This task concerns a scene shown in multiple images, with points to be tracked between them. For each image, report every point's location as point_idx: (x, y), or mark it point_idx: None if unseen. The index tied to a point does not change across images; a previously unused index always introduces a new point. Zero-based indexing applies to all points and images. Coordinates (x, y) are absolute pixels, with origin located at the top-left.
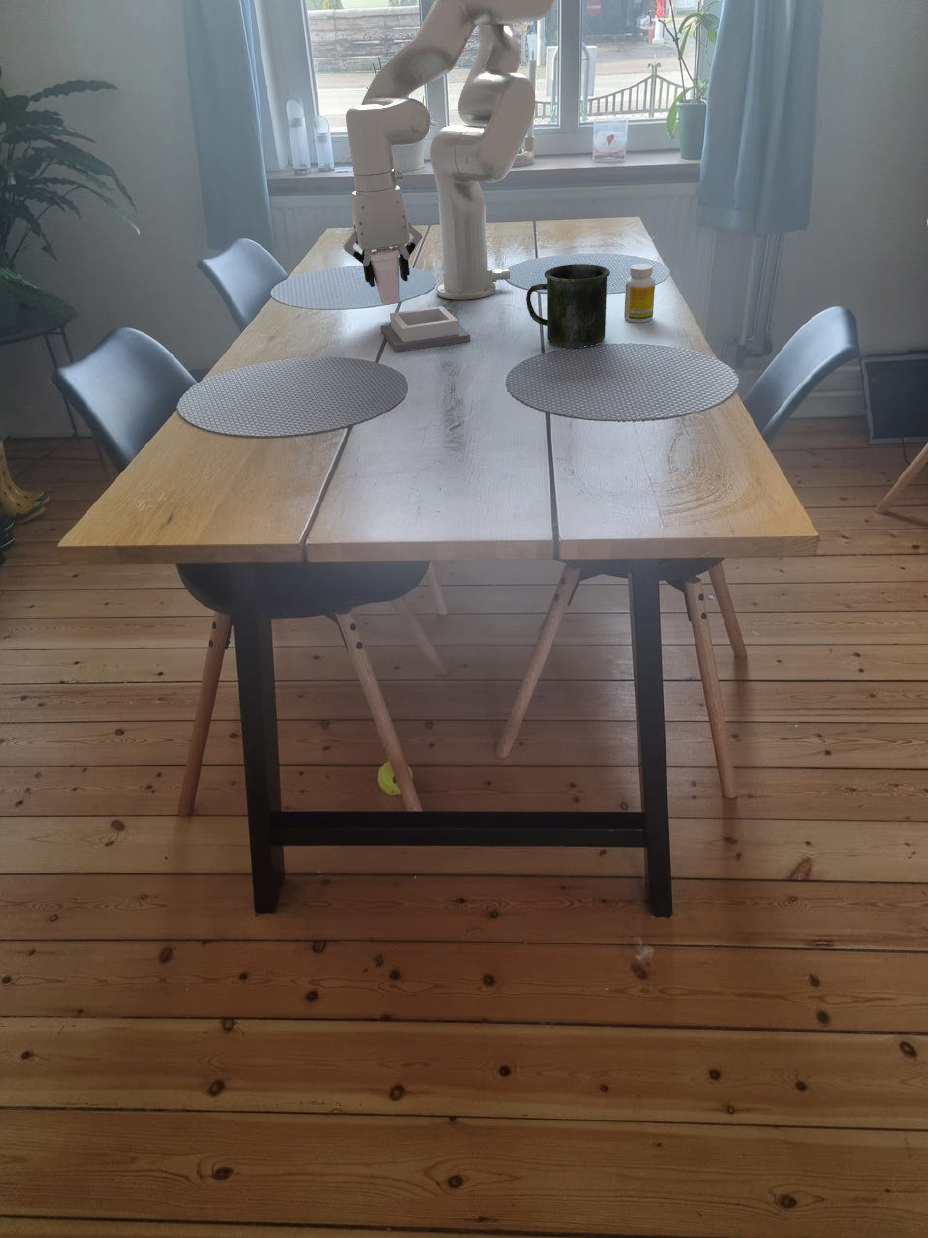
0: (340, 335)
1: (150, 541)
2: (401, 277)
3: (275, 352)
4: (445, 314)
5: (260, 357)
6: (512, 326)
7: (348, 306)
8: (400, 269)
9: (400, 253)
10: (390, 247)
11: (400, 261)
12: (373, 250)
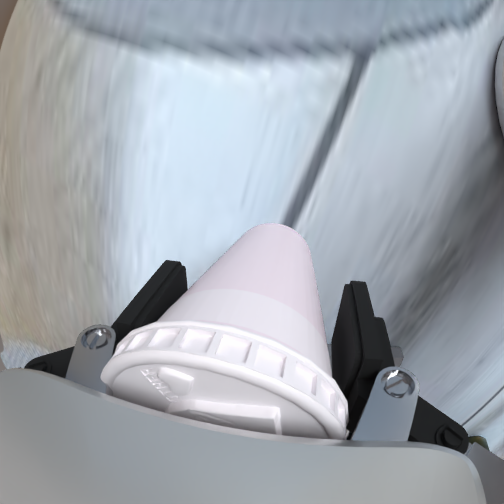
0: (118, 298)
1: None
2: (341, 300)
3: (30, 315)
4: (346, 436)
5: (19, 321)
6: (457, 401)
7: (170, 15)
8: (344, 328)
9: (365, 400)
10: (301, 420)
11: (341, 386)
12: (144, 382)
